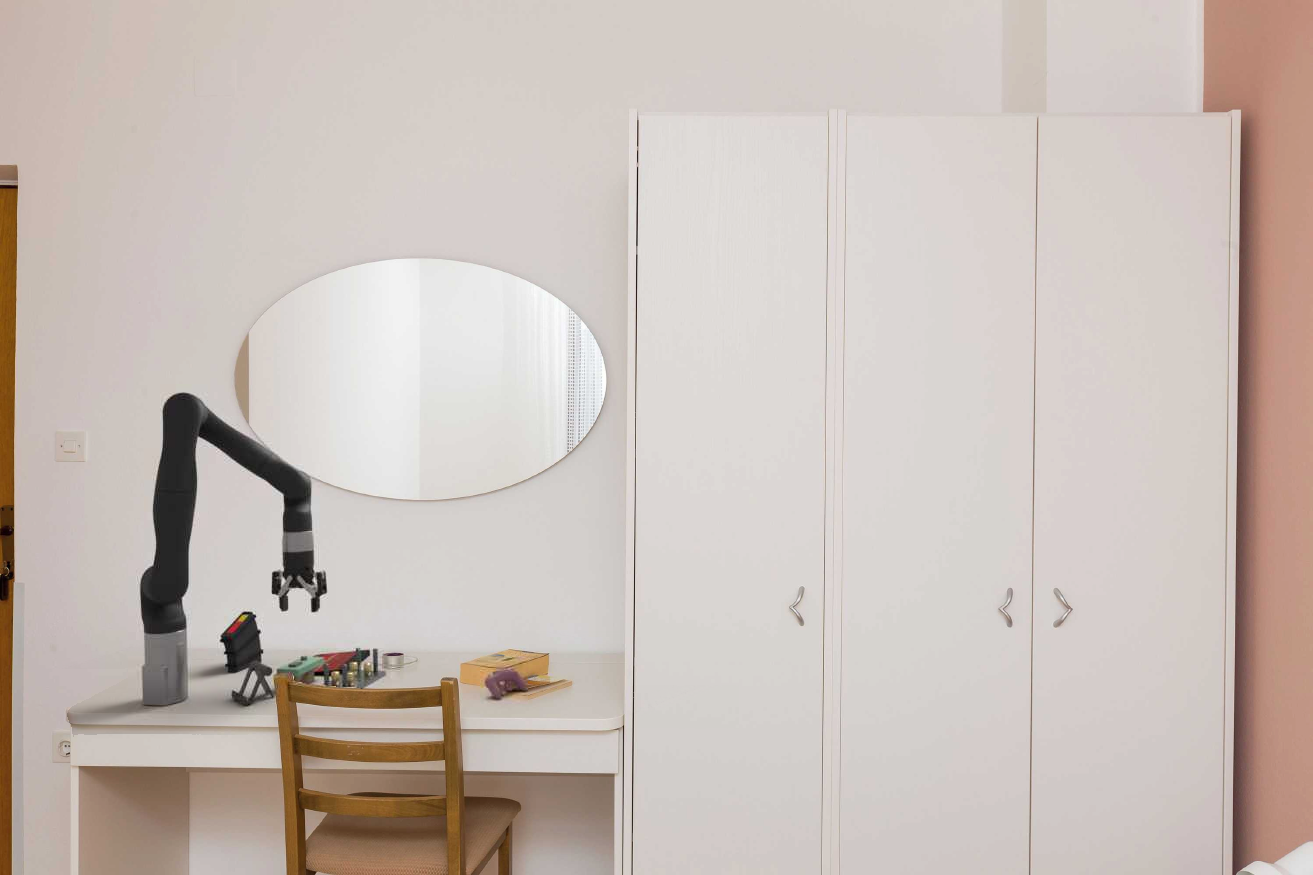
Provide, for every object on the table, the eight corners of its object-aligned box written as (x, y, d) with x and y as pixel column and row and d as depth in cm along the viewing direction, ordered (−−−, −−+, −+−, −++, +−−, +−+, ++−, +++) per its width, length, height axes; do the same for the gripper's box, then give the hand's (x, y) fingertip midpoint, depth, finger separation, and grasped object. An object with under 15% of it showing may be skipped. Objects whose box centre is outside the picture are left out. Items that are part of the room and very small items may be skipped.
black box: (270, 653, 263) (254, 610, 256) (243, 685, 251) (226, 641, 245) (258, 652, 263) (242, 610, 257) (231, 684, 252) (214, 641, 245)
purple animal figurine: (518, 693, 232) (509, 667, 233) (529, 688, 229) (520, 661, 231) (488, 703, 224) (479, 676, 226) (499, 698, 221) (490, 670, 223)
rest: (296, 689, 233) (296, 673, 233) (288, 688, 233) (287, 673, 233) (314, 680, 241) (314, 664, 241) (306, 679, 241) (305, 664, 241)
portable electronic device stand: (231, 699, 225) (230, 665, 225) (263, 692, 231) (262, 659, 231) (244, 706, 219) (244, 672, 219) (278, 699, 225) (277, 665, 225)
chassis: (352, 693, 228) (352, 665, 228) (316, 691, 230) (315, 664, 230) (385, 674, 245) (385, 648, 245) (351, 673, 247) (350, 647, 247)
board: (298, 675, 230) (298, 666, 230) (276, 674, 232) (276, 665, 232) (324, 663, 242) (324, 654, 242) (303, 662, 243) (303, 653, 243)
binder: (370, 648, 266) (346, 668, 245) (370, 656, 266) (347, 677, 245) (314, 652, 265) (286, 672, 244) (315, 660, 266) (286, 681, 245)
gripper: (264, 550, 234) (266, 613, 234) (315, 551, 231) (317, 615, 232) (281, 546, 241) (283, 607, 242) (331, 546, 239) (333, 608, 239)
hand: (299, 611), depth 237 cm, fingers open, 8 cm apart
